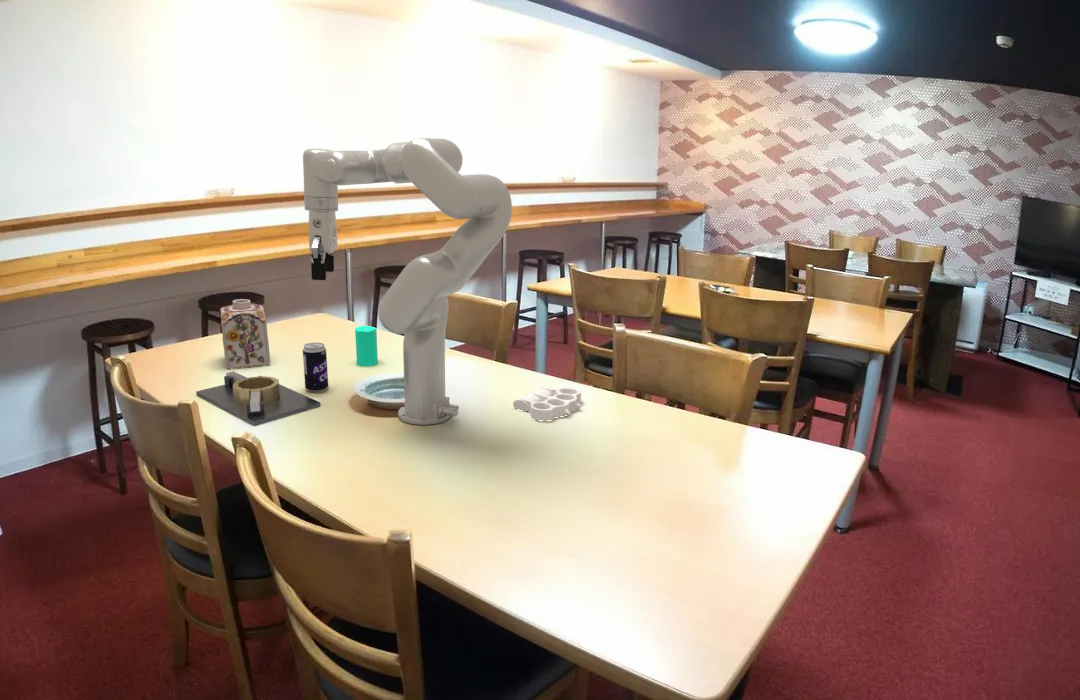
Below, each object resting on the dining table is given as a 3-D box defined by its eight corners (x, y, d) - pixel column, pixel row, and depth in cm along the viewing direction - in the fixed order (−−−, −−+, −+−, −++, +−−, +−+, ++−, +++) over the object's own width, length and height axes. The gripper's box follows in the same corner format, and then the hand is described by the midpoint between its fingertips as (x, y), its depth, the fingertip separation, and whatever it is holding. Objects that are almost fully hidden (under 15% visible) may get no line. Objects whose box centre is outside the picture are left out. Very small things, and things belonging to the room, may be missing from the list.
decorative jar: (224, 358, 203) (218, 297, 198) (267, 354, 208) (262, 295, 203) (225, 370, 193) (219, 306, 188) (270, 366, 198) (265, 303, 193)
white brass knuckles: (544, 393, 184) (593, 405, 177) (505, 414, 169) (557, 428, 162) (545, 381, 183) (594, 393, 176) (505, 401, 168) (557, 414, 161)
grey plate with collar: (320, 406, 170) (319, 388, 168) (254, 425, 157) (252, 407, 156) (260, 379, 187) (259, 363, 185) (196, 395, 174) (194, 378, 173)
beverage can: (314, 395, 177) (311, 349, 173) (300, 390, 180) (297, 345, 176) (333, 389, 181) (330, 345, 178) (319, 384, 184) (316, 340, 181)
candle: (354, 361, 204) (352, 321, 200) (375, 359, 206) (373, 319, 203) (358, 367, 199) (356, 326, 195) (380, 365, 201) (378, 324, 198)
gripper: (330, 209, 156) (332, 284, 161) (344, 200, 173) (345, 269, 178) (295, 207, 155) (298, 282, 161) (313, 198, 172) (315, 267, 177)
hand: (323, 275), depth 169 cm, fingers open, 9 cm apart
